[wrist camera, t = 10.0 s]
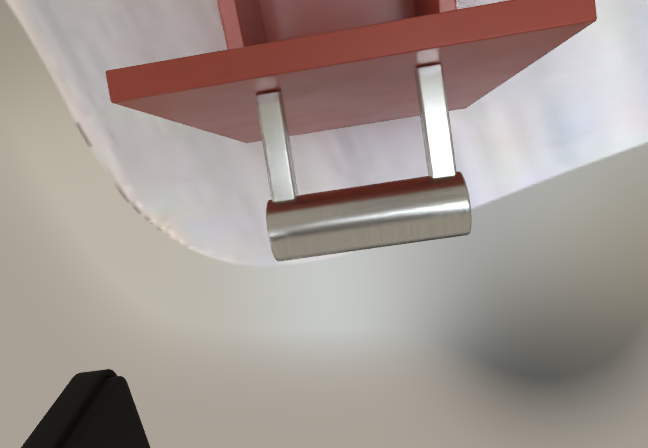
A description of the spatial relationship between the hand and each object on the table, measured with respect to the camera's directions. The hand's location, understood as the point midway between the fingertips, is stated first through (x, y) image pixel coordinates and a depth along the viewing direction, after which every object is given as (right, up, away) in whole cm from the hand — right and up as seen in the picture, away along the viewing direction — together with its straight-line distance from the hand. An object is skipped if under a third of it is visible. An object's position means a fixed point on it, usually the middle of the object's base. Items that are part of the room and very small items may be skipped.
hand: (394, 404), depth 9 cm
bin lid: (0, +8, +11) cm, 14 cm away
